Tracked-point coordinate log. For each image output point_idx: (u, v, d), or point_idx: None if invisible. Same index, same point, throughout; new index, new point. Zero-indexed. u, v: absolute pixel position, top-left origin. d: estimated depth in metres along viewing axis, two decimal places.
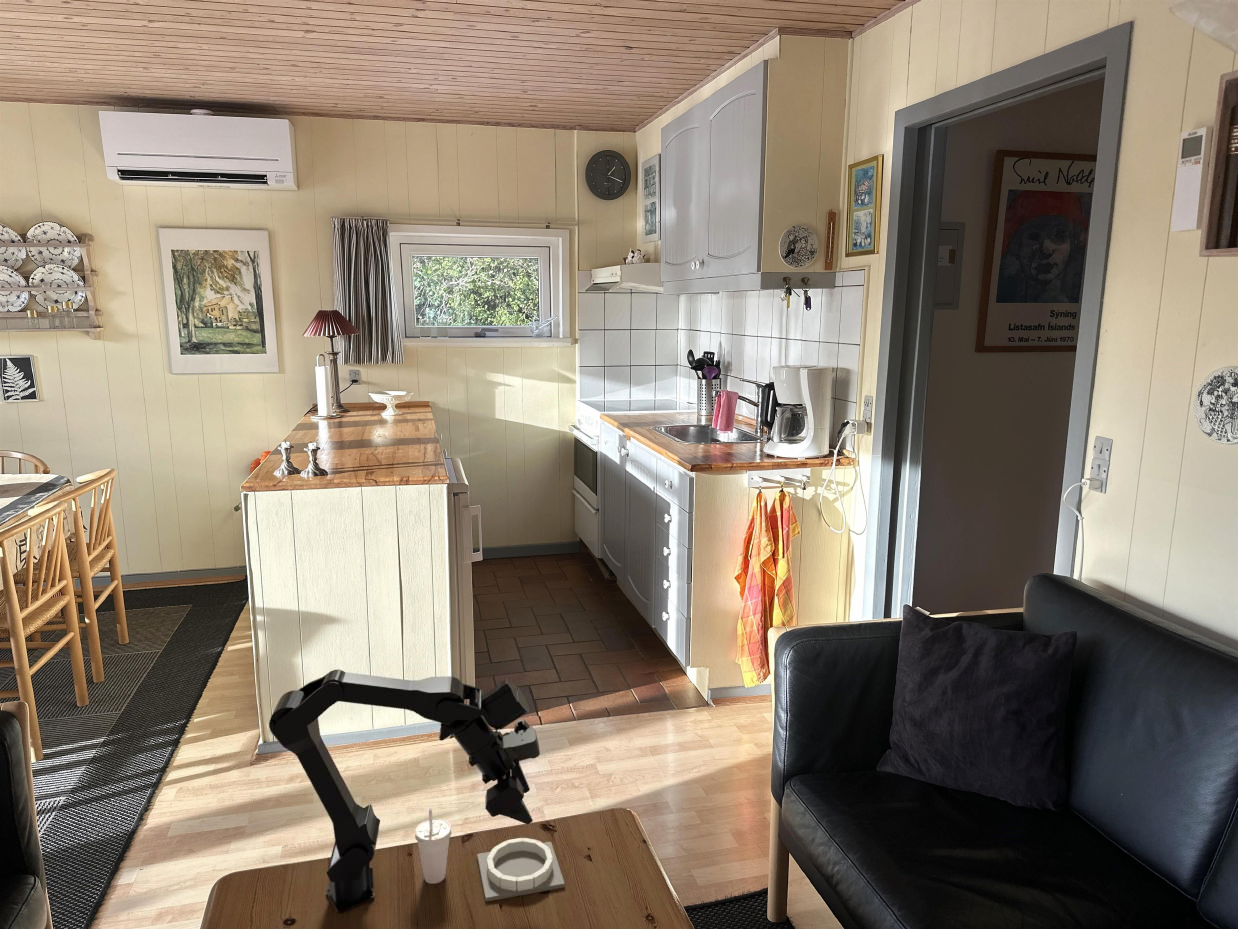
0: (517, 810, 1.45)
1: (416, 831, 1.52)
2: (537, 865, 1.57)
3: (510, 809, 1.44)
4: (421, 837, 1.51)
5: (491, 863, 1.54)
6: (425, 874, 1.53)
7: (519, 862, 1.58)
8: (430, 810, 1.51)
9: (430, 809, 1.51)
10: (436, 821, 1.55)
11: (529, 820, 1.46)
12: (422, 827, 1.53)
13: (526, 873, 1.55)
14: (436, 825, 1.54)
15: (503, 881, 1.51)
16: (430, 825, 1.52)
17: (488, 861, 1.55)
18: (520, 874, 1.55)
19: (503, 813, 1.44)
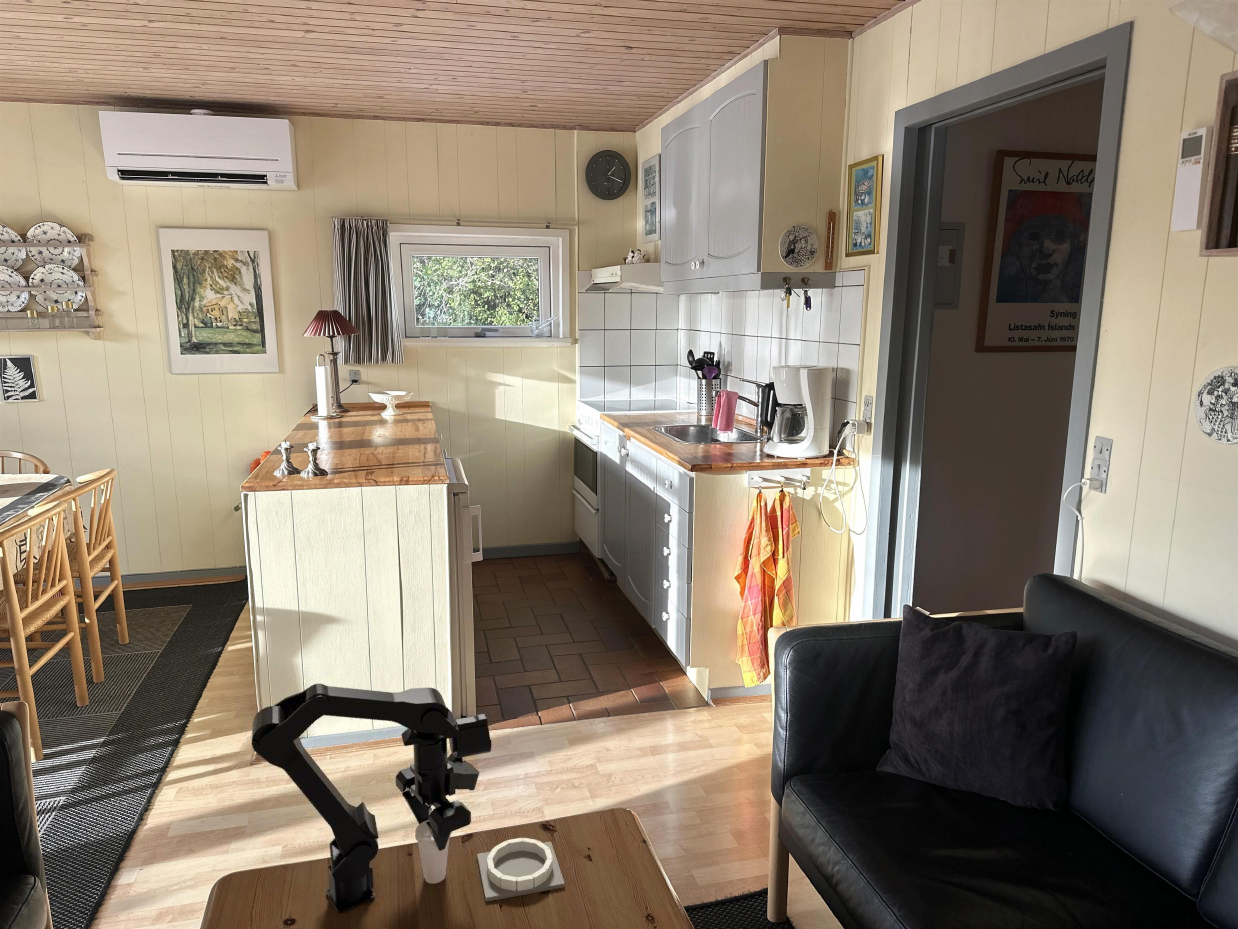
0: None
1: (416, 831, 1.52)
2: (537, 865, 1.57)
3: None
4: (421, 837, 1.51)
5: (491, 863, 1.54)
6: (425, 874, 1.53)
7: (519, 862, 1.58)
8: (430, 810, 1.51)
9: (430, 809, 1.51)
10: None
11: (443, 847, 1.50)
12: (422, 827, 1.53)
13: (526, 873, 1.55)
14: None
15: (503, 881, 1.51)
16: None
17: (488, 861, 1.55)
18: (520, 874, 1.55)
19: (434, 832, 1.47)
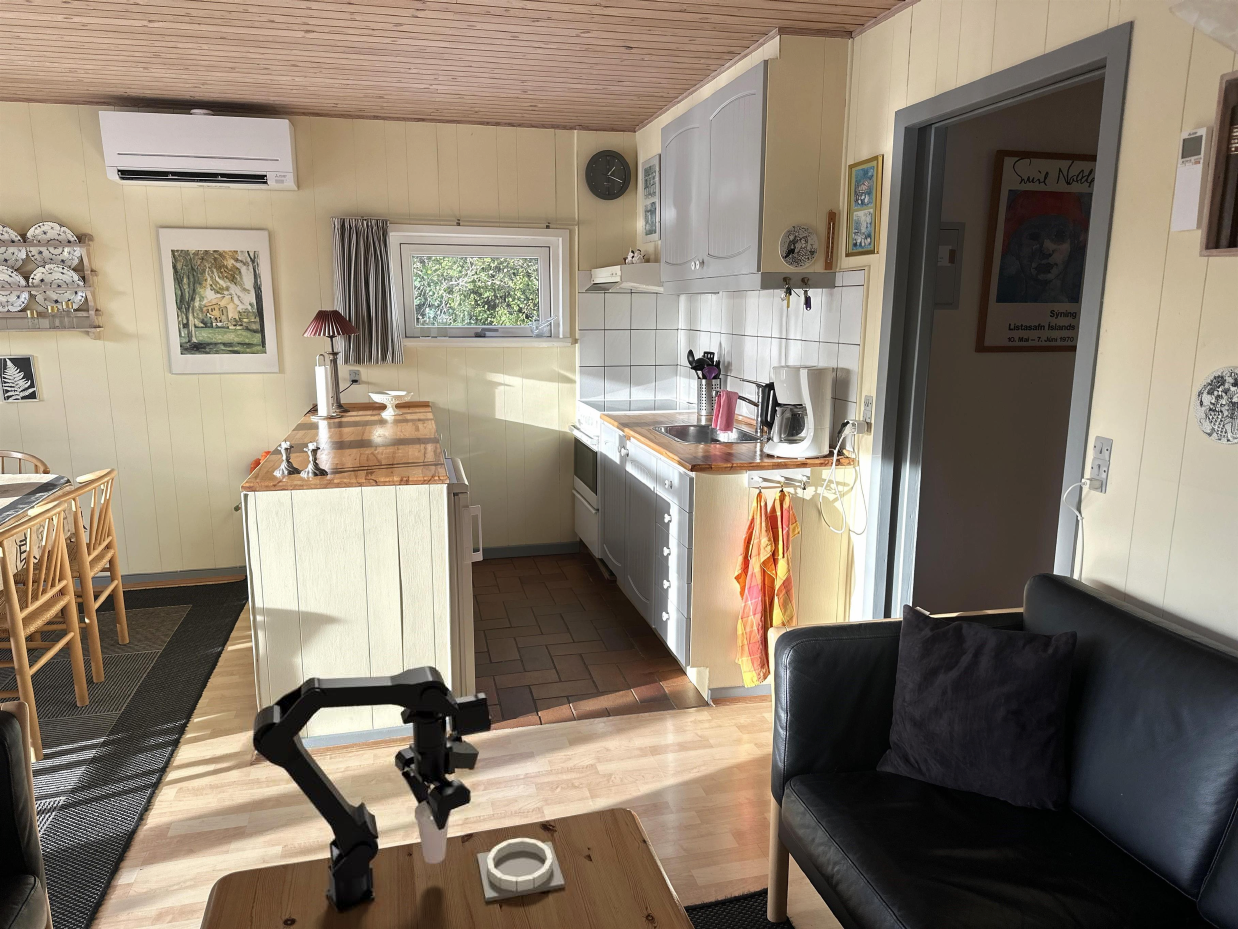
0: None
1: (415, 811, 1.51)
2: (537, 865, 1.57)
3: None
4: (420, 816, 1.50)
5: (491, 863, 1.54)
6: (424, 854, 1.52)
7: (519, 862, 1.58)
8: (429, 789, 1.51)
9: (429, 788, 1.51)
10: None
11: (443, 826, 1.50)
12: (421, 807, 1.53)
13: (526, 873, 1.55)
14: None
15: (503, 881, 1.51)
16: None
17: (488, 861, 1.55)
18: (520, 874, 1.55)
19: (434, 811, 1.46)
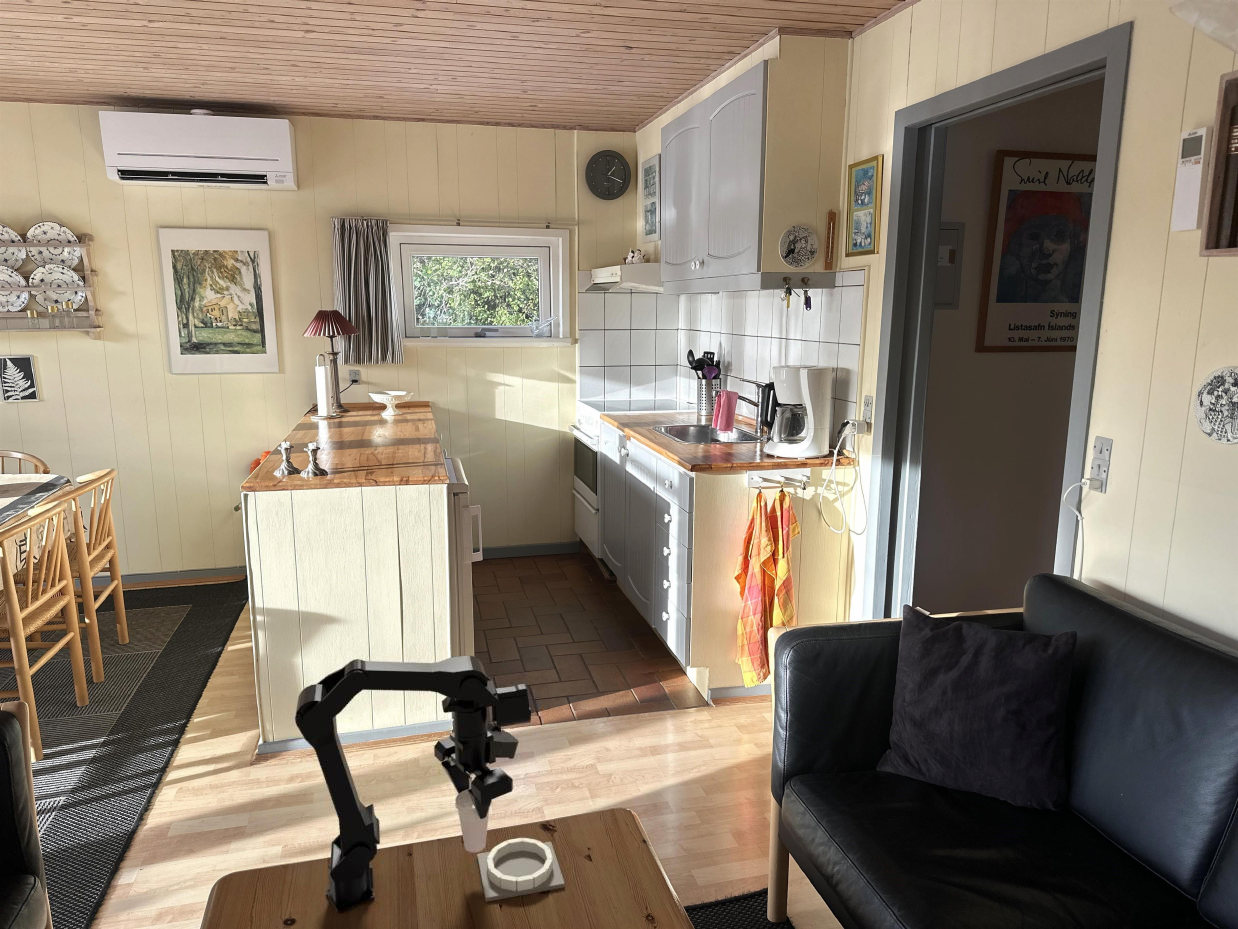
0: None
1: (456, 800, 1.52)
2: (537, 865, 1.57)
3: None
4: (462, 806, 1.50)
5: (491, 863, 1.54)
6: (465, 843, 1.53)
7: (519, 862, 1.58)
8: (470, 779, 1.51)
9: (470, 778, 1.51)
10: None
11: (485, 815, 1.50)
12: (462, 796, 1.53)
13: (526, 873, 1.55)
14: None
15: (503, 881, 1.51)
16: None
17: (488, 861, 1.55)
18: (520, 874, 1.55)
19: (476, 800, 1.47)
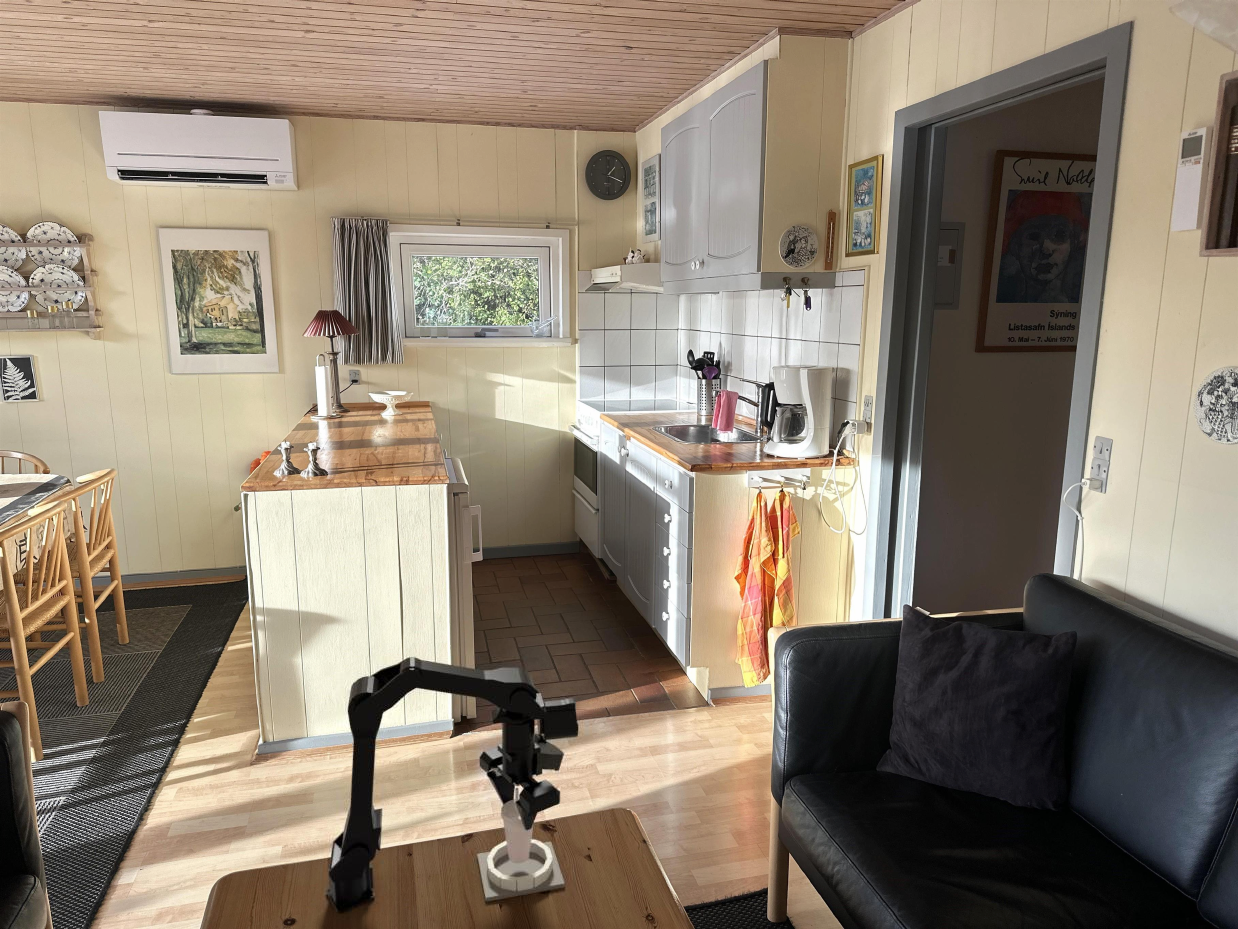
0: None
1: (502, 811, 1.53)
2: (537, 865, 1.57)
3: None
4: (508, 816, 1.51)
5: (491, 863, 1.54)
6: (510, 854, 1.54)
7: None
8: (517, 790, 1.52)
9: (517, 789, 1.52)
10: None
11: (530, 826, 1.51)
12: (507, 807, 1.54)
13: (526, 873, 1.55)
14: None
15: (503, 881, 1.51)
16: None
17: (488, 861, 1.55)
18: (520, 874, 1.55)
19: (523, 811, 1.48)
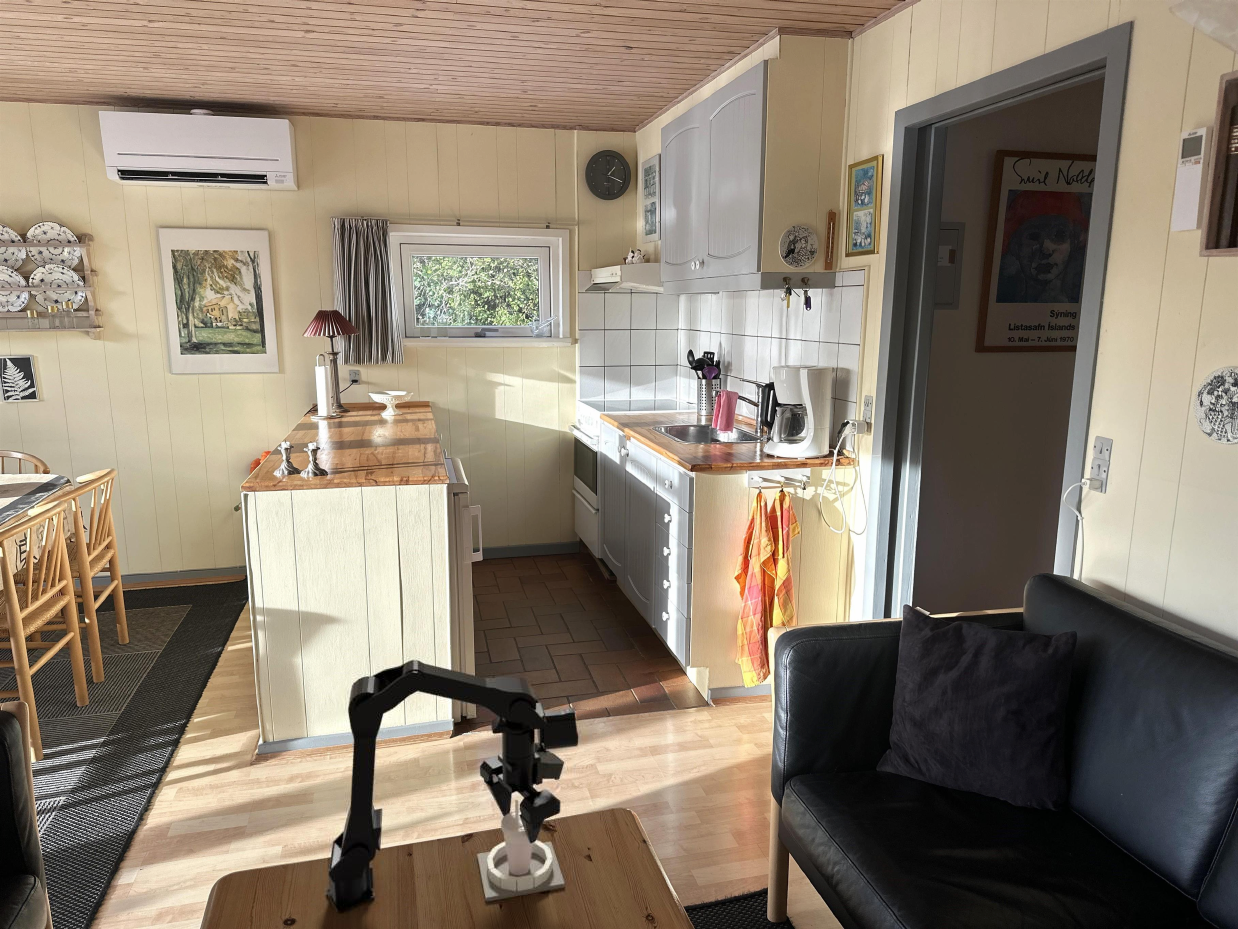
0: (535, 825, 1.49)
1: (502, 823, 1.54)
2: (537, 865, 1.57)
3: None
4: (508, 829, 1.52)
5: (491, 863, 1.54)
6: (510, 866, 1.54)
7: None
8: (516, 802, 1.53)
9: (516, 801, 1.53)
10: (520, 813, 1.57)
11: (534, 839, 1.51)
12: (507, 819, 1.55)
13: (526, 873, 1.55)
14: None
15: (503, 881, 1.51)
16: (516, 817, 1.53)
17: (488, 861, 1.55)
18: None
19: (527, 825, 1.47)
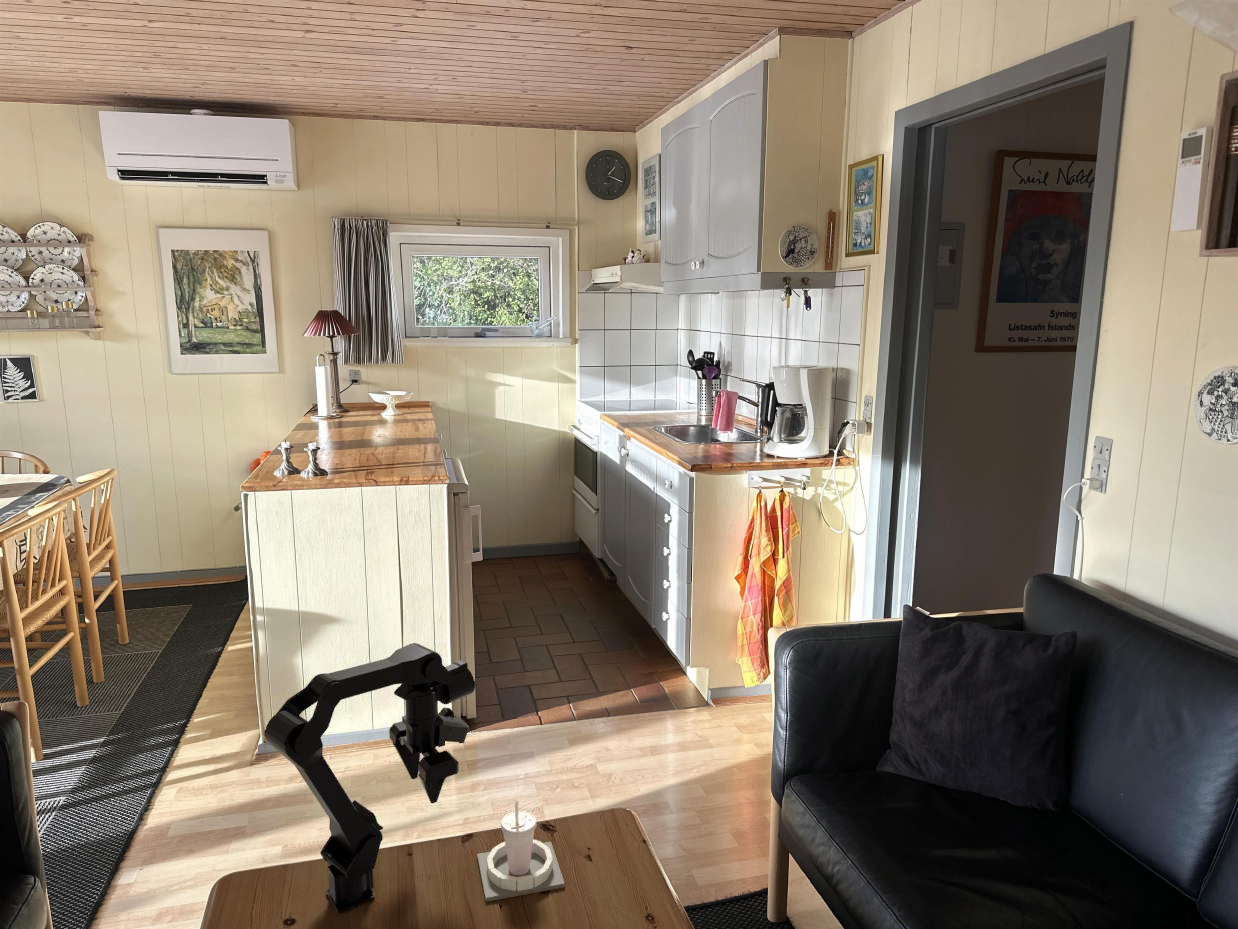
0: (435, 786, 1.54)
1: (502, 823, 1.54)
2: (537, 865, 1.57)
3: (431, 782, 1.53)
4: (508, 829, 1.52)
5: (491, 863, 1.54)
6: (510, 866, 1.54)
7: None
8: (516, 802, 1.53)
9: (516, 801, 1.53)
10: (520, 813, 1.57)
11: (435, 799, 1.55)
12: (507, 819, 1.55)
13: (526, 873, 1.55)
14: (521, 817, 1.55)
15: (503, 881, 1.51)
16: (516, 817, 1.53)
17: (488, 861, 1.55)
18: None
19: (426, 784, 1.52)
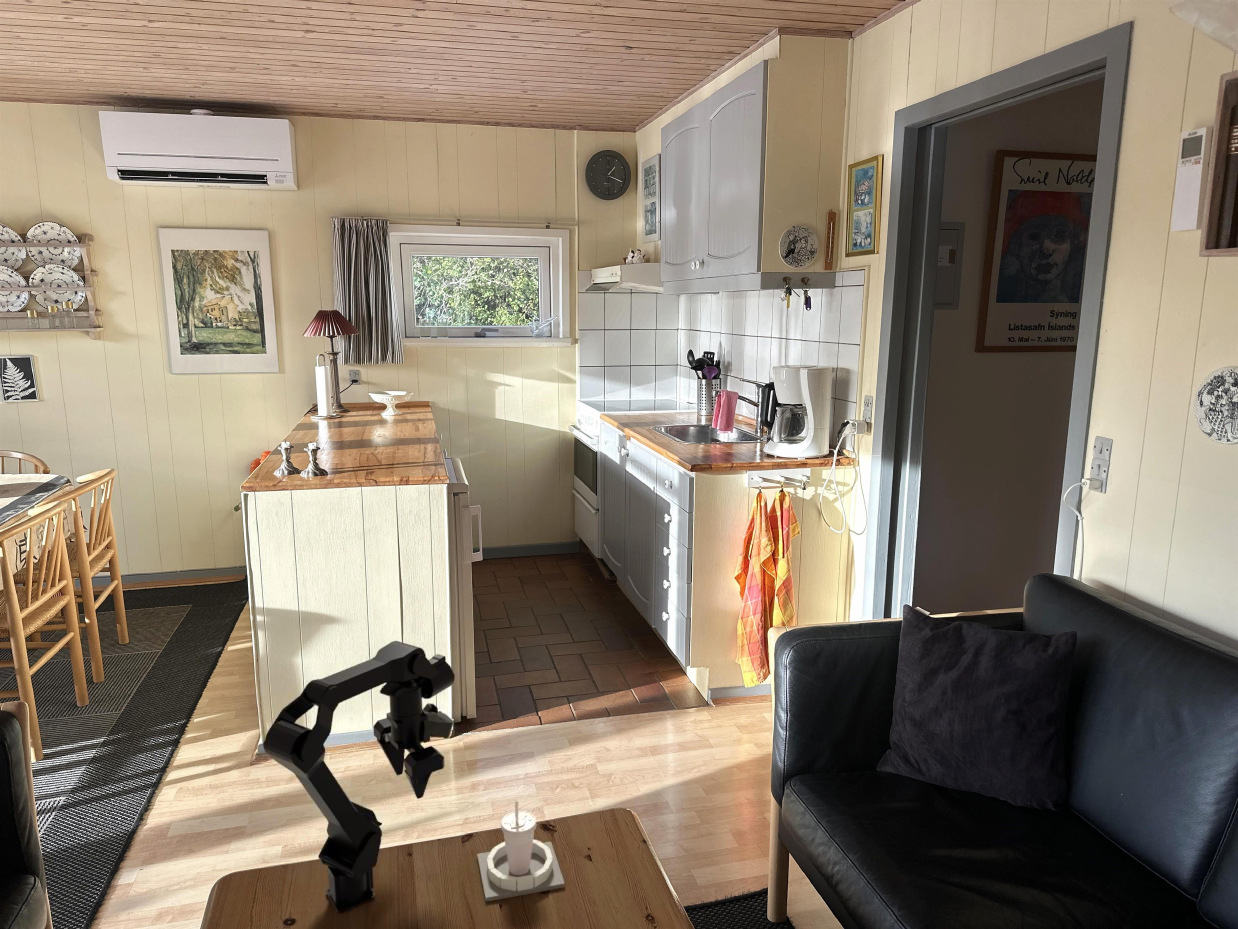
0: (421, 781, 1.55)
1: (502, 823, 1.54)
2: (537, 865, 1.57)
3: (417, 778, 1.54)
4: (508, 829, 1.52)
5: (491, 863, 1.54)
6: (510, 866, 1.54)
7: None
8: (516, 802, 1.53)
9: (516, 801, 1.53)
10: (520, 813, 1.57)
11: (421, 795, 1.56)
12: (507, 819, 1.55)
13: (526, 873, 1.55)
14: (521, 817, 1.55)
15: (503, 881, 1.51)
16: (516, 817, 1.53)
17: (488, 861, 1.55)
18: None
19: (412, 780, 1.53)
